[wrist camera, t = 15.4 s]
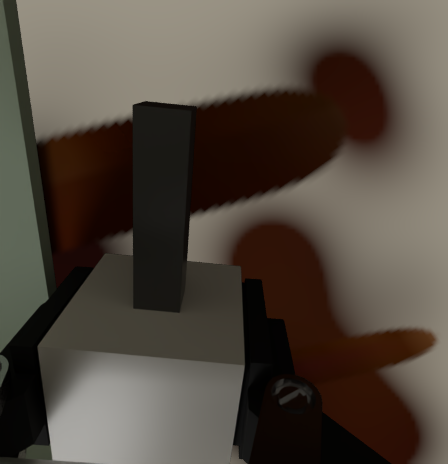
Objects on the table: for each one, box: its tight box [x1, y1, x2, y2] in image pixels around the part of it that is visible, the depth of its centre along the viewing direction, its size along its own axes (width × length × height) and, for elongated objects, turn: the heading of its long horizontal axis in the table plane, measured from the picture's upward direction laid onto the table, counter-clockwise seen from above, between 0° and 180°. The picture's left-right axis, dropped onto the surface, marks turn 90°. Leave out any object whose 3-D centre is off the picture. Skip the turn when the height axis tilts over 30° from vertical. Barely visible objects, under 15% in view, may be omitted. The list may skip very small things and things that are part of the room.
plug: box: [37, 101, 245, 464], centre depth 12 cm, size 4×22×4 cm, turn 175°
